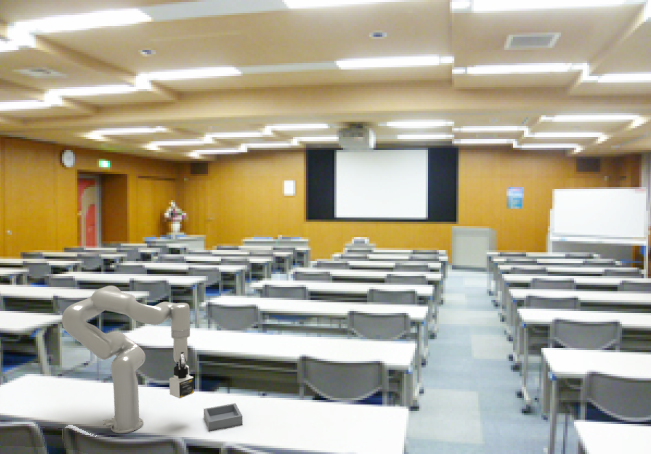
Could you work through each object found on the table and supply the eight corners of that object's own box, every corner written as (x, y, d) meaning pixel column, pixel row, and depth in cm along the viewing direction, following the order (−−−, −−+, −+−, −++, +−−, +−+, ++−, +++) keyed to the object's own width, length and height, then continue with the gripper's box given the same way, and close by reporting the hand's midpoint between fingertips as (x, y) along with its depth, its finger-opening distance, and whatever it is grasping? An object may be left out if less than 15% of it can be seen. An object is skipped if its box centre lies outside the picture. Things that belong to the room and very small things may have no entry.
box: (208, 431, 196) (208, 422, 196) (203, 417, 209) (203, 408, 209) (242, 425, 201) (242, 415, 201) (235, 411, 214) (235, 403, 214)
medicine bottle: (179, 398, 195) (179, 370, 195) (169, 394, 199) (168, 366, 199) (194, 393, 201) (193, 365, 200) (183, 389, 205) (183, 361, 204)
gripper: (169, 328, 205) (170, 369, 206) (173, 339, 189) (173, 383, 190) (187, 327, 208) (188, 367, 209) (192, 337, 192) (193, 381, 193)
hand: (181, 374), depth 200 cm, fingers closed on medicine bottle, 6 cm apart
